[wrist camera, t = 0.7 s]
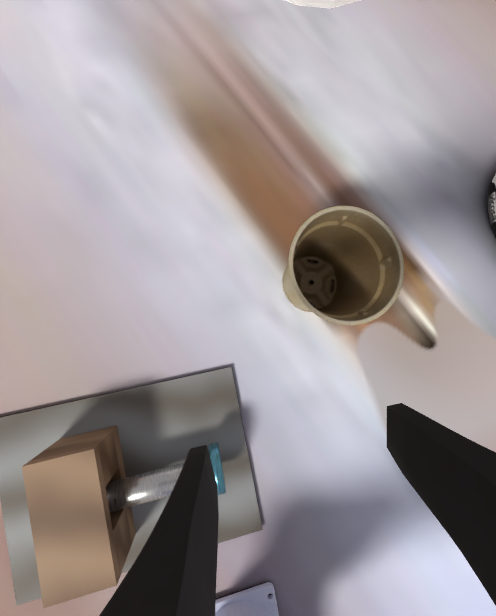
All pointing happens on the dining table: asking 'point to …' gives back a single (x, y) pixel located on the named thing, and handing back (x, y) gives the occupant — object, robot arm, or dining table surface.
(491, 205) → the milk container
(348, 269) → the flower pot
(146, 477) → the pin
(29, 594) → the hitch block
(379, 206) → the dining table surface
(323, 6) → the dish
